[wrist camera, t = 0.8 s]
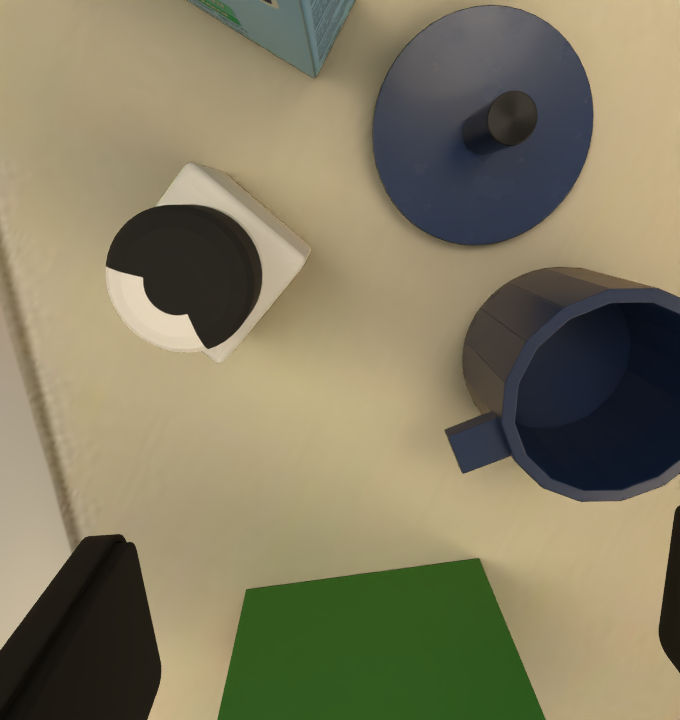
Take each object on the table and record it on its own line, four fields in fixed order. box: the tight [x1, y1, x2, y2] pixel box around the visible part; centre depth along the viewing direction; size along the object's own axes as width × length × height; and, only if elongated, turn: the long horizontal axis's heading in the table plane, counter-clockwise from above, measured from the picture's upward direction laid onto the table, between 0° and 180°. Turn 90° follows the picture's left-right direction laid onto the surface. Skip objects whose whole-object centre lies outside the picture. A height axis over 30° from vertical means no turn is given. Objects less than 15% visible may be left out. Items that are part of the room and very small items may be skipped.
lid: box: [372, 5, 593, 245], centre depth 27 cm, size 12×12×6 cm
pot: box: [445, 267, 680, 502], centre depth 30 cm, size 11×17×8 cm
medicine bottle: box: [106, 163, 311, 363], centre depth 26 cm, size 7×7×12 cm
